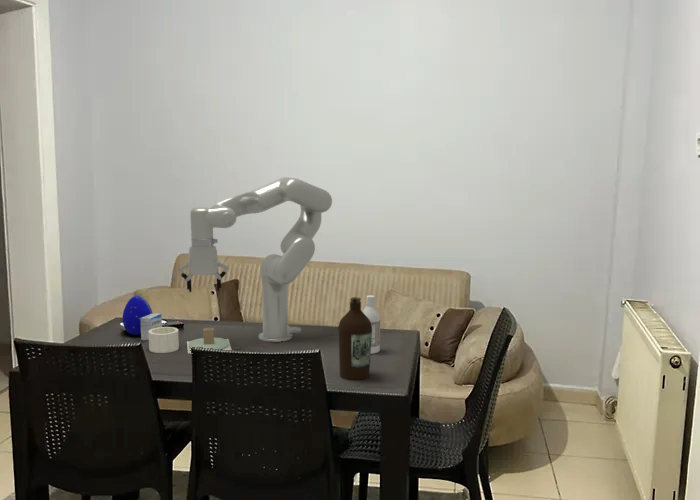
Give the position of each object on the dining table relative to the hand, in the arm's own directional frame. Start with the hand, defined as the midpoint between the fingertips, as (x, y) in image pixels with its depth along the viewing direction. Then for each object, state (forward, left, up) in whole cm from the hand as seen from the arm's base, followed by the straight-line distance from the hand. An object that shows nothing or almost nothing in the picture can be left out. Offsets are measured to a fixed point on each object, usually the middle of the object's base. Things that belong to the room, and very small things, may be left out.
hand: (204, 290), depth 248 cm
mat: (-1, +1, -21) cm, 21 cm away
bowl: (+14, +1, -21) cm, 25 cm away
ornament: (+24, -23, -21) cm, 39 cm away
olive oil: (-44, +42, -21) cm, 64 cm away
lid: (-1, +1, -20) cm, 20 cm away
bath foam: (-56, +18, -21) cm, 62 cm away
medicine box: (+19, -16, -21) cm, 32 cm away
